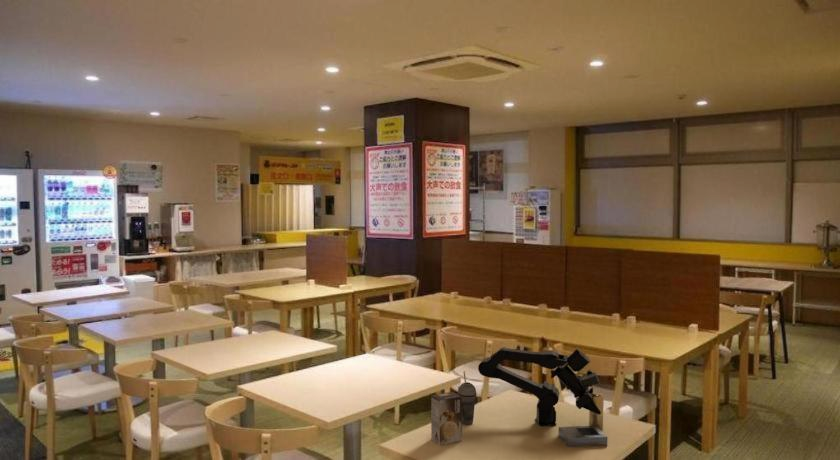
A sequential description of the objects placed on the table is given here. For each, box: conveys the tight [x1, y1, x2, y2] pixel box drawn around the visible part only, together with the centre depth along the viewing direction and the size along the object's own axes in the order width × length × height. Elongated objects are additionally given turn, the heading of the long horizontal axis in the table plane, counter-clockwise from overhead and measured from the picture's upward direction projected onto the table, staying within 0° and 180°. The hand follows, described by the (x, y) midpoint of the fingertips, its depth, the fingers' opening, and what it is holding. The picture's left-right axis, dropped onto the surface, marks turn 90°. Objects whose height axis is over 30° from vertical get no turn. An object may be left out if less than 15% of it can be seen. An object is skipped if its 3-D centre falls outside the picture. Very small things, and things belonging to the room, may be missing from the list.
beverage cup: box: [457, 370, 478, 427], centre depth 226 cm, size 7×7×20 cm
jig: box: [557, 425, 608, 448], centre depth 212 cm, size 14×10×3 cm
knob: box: [588, 392, 605, 431], centre depth 222 cm, size 5×5×13 cm
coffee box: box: [430, 391, 463, 446], centre depth 210 cm, size 9×6×16 cm
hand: (600, 411), depth 222 cm, fingers closed on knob, 5 cm apart
